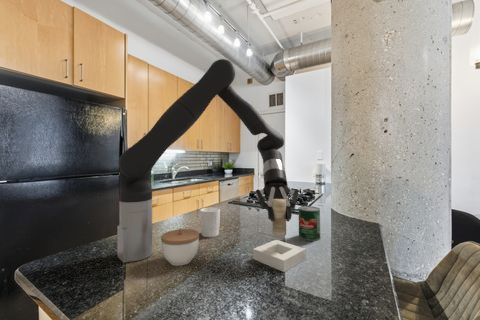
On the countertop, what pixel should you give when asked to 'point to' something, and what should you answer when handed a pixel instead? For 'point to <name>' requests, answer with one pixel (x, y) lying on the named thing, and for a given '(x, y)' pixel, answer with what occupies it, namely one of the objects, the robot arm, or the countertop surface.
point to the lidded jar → (180, 246)
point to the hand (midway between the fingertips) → (280, 219)
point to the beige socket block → (279, 255)
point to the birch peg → (279, 216)
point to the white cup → (210, 221)
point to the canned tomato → (309, 223)
